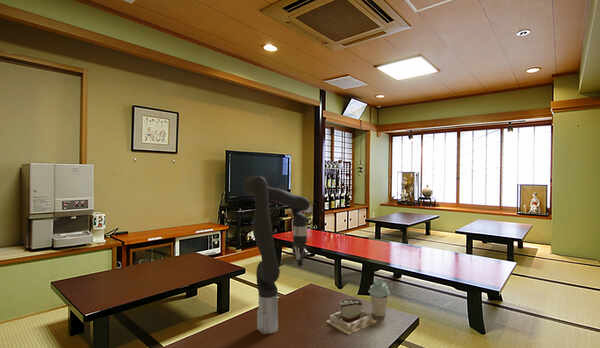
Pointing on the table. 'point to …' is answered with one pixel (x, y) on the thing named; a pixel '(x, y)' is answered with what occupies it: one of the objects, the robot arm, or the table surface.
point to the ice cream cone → (379, 297)
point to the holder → (351, 327)
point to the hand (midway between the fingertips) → (299, 266)
